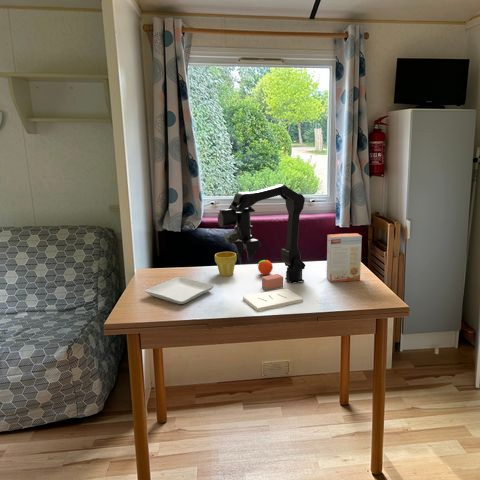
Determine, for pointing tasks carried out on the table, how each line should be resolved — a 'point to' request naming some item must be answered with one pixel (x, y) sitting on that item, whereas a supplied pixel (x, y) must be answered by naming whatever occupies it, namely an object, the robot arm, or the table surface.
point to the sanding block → (272, 282)
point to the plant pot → (225, 263)
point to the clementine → (265, 267)
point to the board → (272, 299)
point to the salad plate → (179, 290)
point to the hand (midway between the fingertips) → (244, 259)
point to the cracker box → (344, 257)
